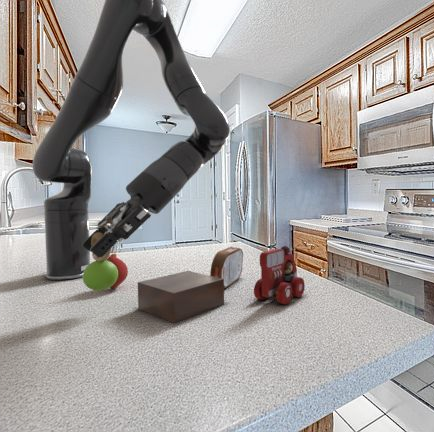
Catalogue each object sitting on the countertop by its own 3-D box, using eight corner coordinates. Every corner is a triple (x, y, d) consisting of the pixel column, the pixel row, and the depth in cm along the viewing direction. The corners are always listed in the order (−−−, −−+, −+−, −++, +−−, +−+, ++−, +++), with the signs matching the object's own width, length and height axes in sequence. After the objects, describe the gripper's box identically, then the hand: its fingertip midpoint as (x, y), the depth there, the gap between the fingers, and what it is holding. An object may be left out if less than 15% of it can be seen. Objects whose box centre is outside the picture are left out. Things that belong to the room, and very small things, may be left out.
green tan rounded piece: (96, 297, 51) (93, 225, 50) (77, 291, 54) (74, 223, 53) (127, 289, 55) (125, 223, 55) (108, 284, 59) (106, 221, 58)
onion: (114, 293, 65) (113, 256, 65) (91, 292, 67) (90, 255, 66) (133, 286, 71) (132, 251, 71) (112, 284, 72) (111, 250, 72)
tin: (233, 275, 81) (233, 244, 80) (245, 276, 80) (245, 244, 80) (208, 292, 66) (208, 254, 66) (222, 293, 66) (222, 254, 65)
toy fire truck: (308, 292, 67) (309, 245, 66) (278, 310, 56) (278, 253, 56) (281, 287, 70) (282, 242, 70) (248, 303, 60) (248, 250, 59)
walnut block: (138, 309, 57) (137, 282, 56) (188, 293, 66) (187, 270, 65) (174, 323, 50) (174, 293, 50) (224, 304, 59) (224, 278, 59)
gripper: (132, 172, 64) (64, 233, 56) (158, 168, 53) (79, 242, 46) (158, 197, 68) (98, 258, 60) (187, 198, 57) (119, 271, 50)
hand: (90, 251), depth 53 cm, fingers closed on green tan rounded piece, 6 cm apart
